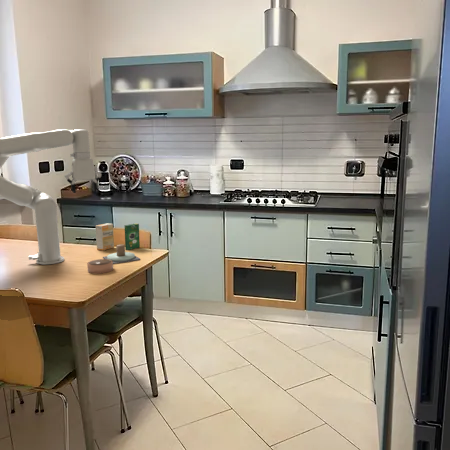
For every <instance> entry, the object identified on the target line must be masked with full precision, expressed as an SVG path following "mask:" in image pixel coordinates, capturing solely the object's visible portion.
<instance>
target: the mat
mask: <svg viewBox="0 0 450 450" xmlns="http://www.w3.org/2000/svg"><path fill="white" fill-rule="evenodd" d="M107 256H108V255H106V256H102V259H107ZM137 261H141V258H139V257H138V256H136V255H135V258H134V259H131V260H127V261H113V265H117V264H123V263H130V262H137Z"/></svg>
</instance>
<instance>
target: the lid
mask: <svg viewBox="0 0 450 450" xmlns="http://www.w3.org/2000/svg"><path fill="white" fill-rule="evenodd" d="M106 256H107V259H109V260H112V261H127V260H131V259H134V258H135V256H136V255H135V253H134V252H129V251H126V250H125V244H123V243H122V244H117V245H116V252H114V253H110V254H108V255H106Z"/></svg>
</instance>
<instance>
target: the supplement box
mask: <svg viewBox="0 0 450 450" xmlns="http://www.w3.org/2000/svg"><path fill="white" fill-rule="evenodd" d="M95 236H96V238H95V239H96V250H97V251H107V250H109V249H114V248H115V237H114V223H109V222H108V223H107V222H106V223H102V224H98V225H97V224H96V225H95Z"/></svg>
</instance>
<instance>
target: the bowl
mask: <svg viewBox="0 0 450 450" xmlns="http://www.w3.org/2000/svg"><path fill="white" fill-rule="evenodd" d="M86 265H87V272H88V273H89V274H94V275H95V274H107V273H110V272H112V271H113V270H114V264H113V261H112V260H109V259H104V258H101V259H100V258H99V259H94V260H89V261H88V262H86Z"/></svg>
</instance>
